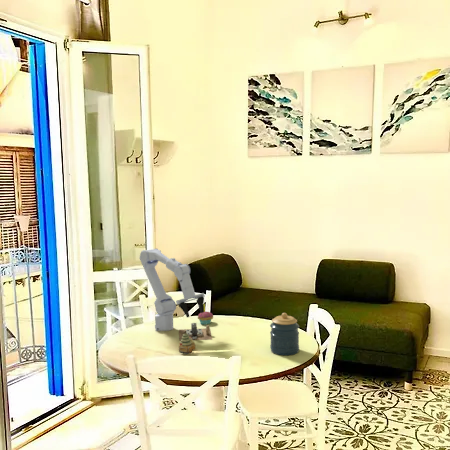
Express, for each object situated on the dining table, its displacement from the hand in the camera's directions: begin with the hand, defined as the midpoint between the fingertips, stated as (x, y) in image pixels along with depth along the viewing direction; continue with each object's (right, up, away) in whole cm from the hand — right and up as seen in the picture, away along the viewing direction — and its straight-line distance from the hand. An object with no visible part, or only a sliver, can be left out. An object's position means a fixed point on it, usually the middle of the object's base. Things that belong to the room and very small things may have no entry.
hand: (195, 315), depth 237 cm
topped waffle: (-3, -14, -16) cm, 21 cm away
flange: (-1, -11, +3) cm, 11 cm away
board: (0, -12, +5) cm, 13 cm away
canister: (+42, -13, -18) cm, 47 cm away
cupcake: (+4, -10, +25) cm, 27 cm away
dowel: (+6, -12, +4) cm, 14 cm away
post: (-1, -12, +5) cm, 13 cm away
